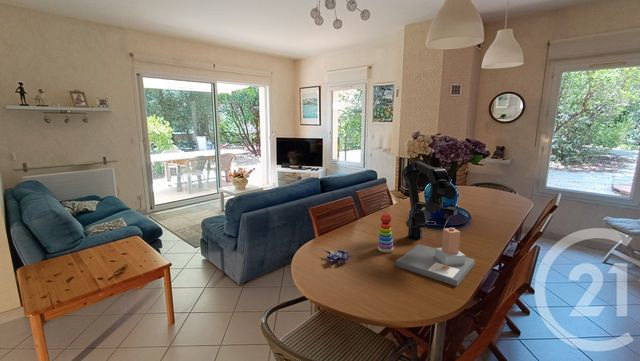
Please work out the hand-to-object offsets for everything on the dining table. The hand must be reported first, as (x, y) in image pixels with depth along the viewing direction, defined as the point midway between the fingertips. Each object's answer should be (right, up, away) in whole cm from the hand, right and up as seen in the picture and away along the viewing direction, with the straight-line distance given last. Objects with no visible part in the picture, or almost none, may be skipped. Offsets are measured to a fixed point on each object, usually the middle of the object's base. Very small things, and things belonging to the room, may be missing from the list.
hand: (434, 225), depth 148 cm
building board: (-5, -16, -13) cm, 21 cm away
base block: (+1, -13, -13) cm, 19 cm away
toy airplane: (-49, -15, -7) cm, 52 cm away
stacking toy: (-23, -13, +3) cm, 27 cm away
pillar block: (+1, -10, -14) cm, 17 cm away
